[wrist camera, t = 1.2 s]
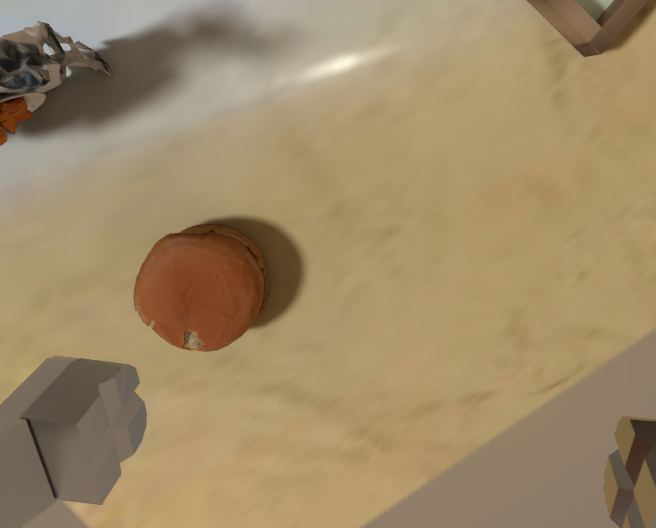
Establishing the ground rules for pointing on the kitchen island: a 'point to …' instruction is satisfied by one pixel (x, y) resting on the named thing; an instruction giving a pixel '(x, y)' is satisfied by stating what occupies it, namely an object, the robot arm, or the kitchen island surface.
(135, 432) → the robot arm
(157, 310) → the burger
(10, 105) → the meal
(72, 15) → the kitchen island surface
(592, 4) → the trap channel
